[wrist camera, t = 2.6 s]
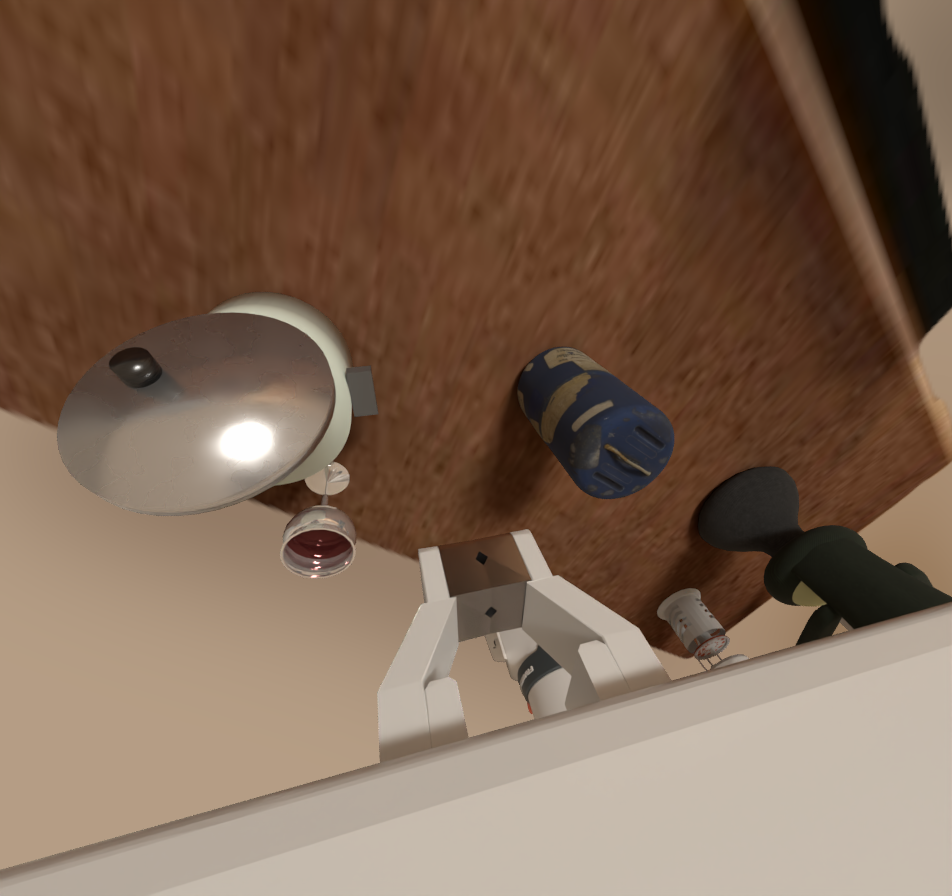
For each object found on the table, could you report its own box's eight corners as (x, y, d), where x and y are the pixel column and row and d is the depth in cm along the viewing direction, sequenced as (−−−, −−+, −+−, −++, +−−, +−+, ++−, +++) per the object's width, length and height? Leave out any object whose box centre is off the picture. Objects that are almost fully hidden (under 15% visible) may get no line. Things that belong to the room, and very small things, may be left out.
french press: (703, 582, 81) (819, 716, 60) (696, 615, 87) (798, 746, 67) (658, 597, 80) (760, 739, 60) (654, 629, 87) (745, 767, 66)
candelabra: (696, 558, 76) (1014, 912, 39) (668, 488, 63) (1096, 911, 26) (790, 504, 73) (1221, 826, 37) (779, 420, 61) (1419, 780, 24)
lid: (341, 491, 22) (332, 472, 20) (33, 539, 19) (-10, 521, 17) (331, 316, 29) (324, 290, 27) (106, 333, 26) (81, 305, 24)
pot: (382, 417, 45) (386, 469, 37) (204, 439, 42) (167, 501, 34) (360, 285, 38) (360, 313, 29) (141, 299, 34) (73, 334, 26)
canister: (540, 431, 51) (612, 530, 37) (497, 381, 46) (560, 473, 32) (602, 381, 50) (703, 464, 35) (564, 324, 44) (664, 393, 30)
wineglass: (367, 468, 48) (369, 540, 39) (340, 508, 51) (335, 586, 41) (312, 445, 45) (299, 517, 35) (285, 488, 47) (266, 568, 37)
